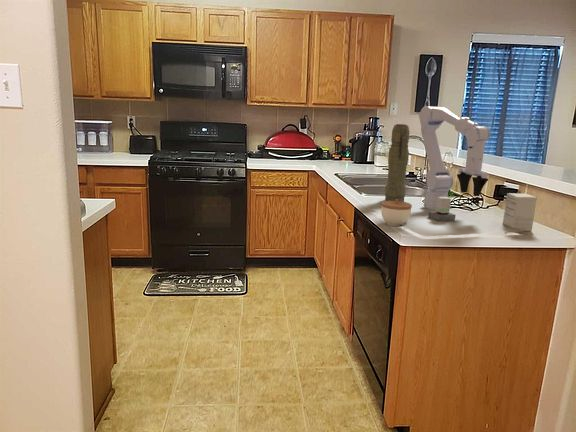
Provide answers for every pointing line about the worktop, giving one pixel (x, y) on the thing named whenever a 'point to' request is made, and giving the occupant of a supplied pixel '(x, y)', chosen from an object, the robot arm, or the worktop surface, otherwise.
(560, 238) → the worktop surface
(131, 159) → the worktop surface
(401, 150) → the potted cactus
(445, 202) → the column
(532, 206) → the supplement box
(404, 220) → the lidded jar
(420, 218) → the worktop surface
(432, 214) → the stand base
